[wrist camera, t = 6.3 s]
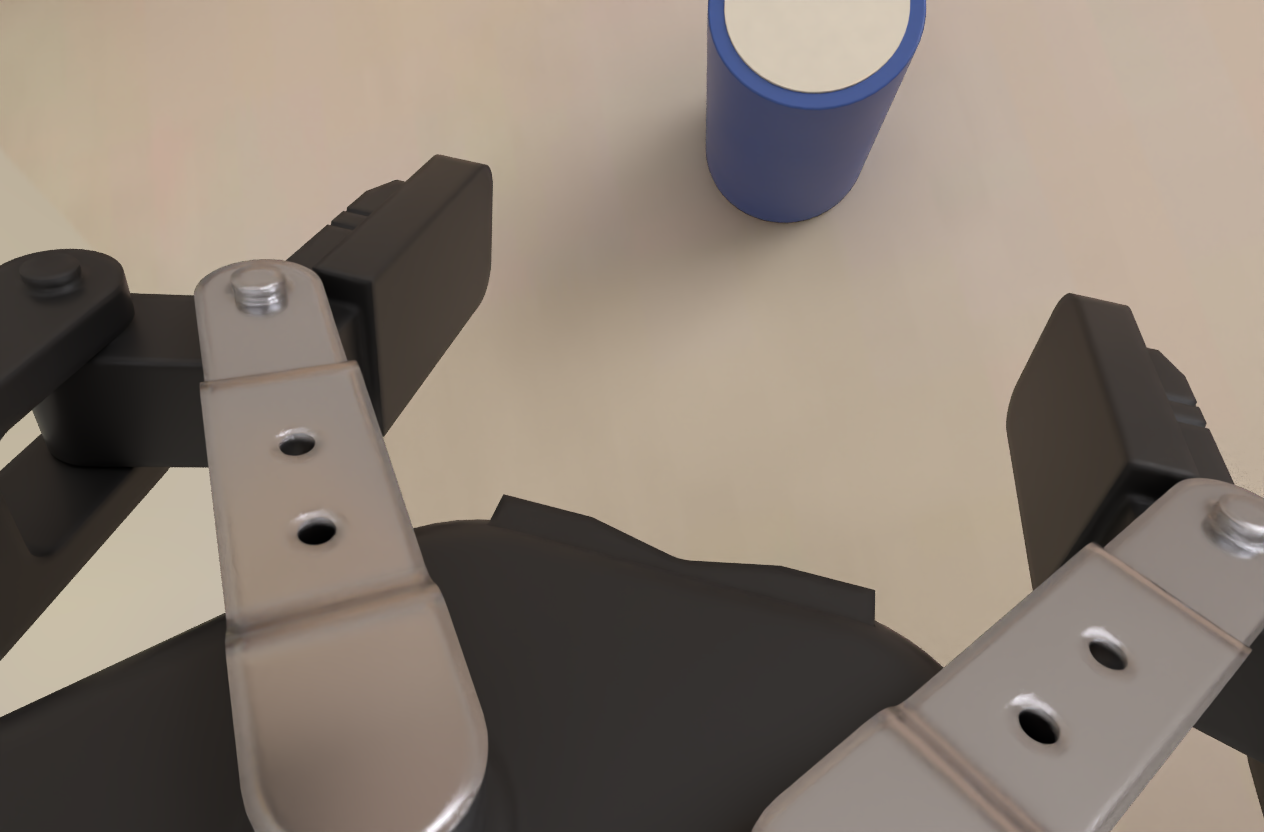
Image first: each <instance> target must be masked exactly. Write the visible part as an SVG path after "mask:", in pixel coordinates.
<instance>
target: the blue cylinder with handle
mask: <svg viewBox="0 0 1264 832" xmlns="http://www.w3.org/2000/svg"><path fill="white" fill-rule="evenodd" d="M925 18H926V0H708V25H707V100H706V157H707V163H708V167H709V171H710V173H711V176H712V178H713V180H714V182H715V184H716V186H717V187H718V189H719V190H720V191H721V193H722V194H723V195H724V196H725V197H726V198H727V200H728V201H729V202H730V203H732V204H733V205H734V206H736V207H737V208H738V209H740V210H741V211H743V212H745V213H747V214H749V215H751V216H753V217H756V218H759V219H762V220H766V221H772V222H784V223H788V222H798V221H802V220H807V219H810V218H813V217H816V216H818V215H820V214H822V213H824V212H826V211H828V210H829V209H831V208H832V207H834V206H835V205H836V204H837V203H839V202H840V201H841V200H842V199H843V198H844V197H845V196H846V195H847V193H848V192H849V191H850V190H851V188H852V187H853V185H854V184H855V182H856V180H857V178H858V176H859V174H860V172H861V169H862V167H863V165H864V163H865V161H866V158H867V156H868V154H869V152H870V150H871V147H872V145H873V143H874V141H875V139H876V136H877V134H878V132H879V130H880V128H881V125H882V123H883V121H884V119H885V117H886V115H887V112H888V110H889V108H890V106H891V104H892V101H893V99H894V97H895V95H896V93H897V90H898V88H899V86H900V84H901V82H902V79H903V77H904V75H905V73H906V71H907V68H908V66H909V64H910V62H911V60H912V58H913V55H914V53H915V51H916V49H917V47H918V44H919V42H920V39H921V36H922V33H923V30H924V24H925Z"/></svg>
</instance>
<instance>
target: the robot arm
mask: <svg viewBox="0 0 1264 832" xmlns="http://www.w3.org/2000/svg"><path fill="white" fill-rule="evenodd" d="M492 197H493V180H492V173H491V170H490V168H489V166H488V165H485V164H480V163H475V162H471V161H466V160H462V159H457V158H452V157H448V156H443V155H438V154H437V155H435V156H433V157H432V158H431V159H430V160H429V161H428V162H427V163H426V164H424V165H423V166H422V167H421V168H420V169H419V170H418V171H417V172H416V173H415V174H414V175H412V176H411V177H410V178H409V179H408V180H407V181H406V182H404V181H400V180H394V181H392V182H389V183H386V184H384V185H381V186H379V187H376V188H373V189H371V190H368V191H366V192H365V193H363V194H362V195H361V196H360V197H359V198H358V199H356V200H355V201H354V202H353V203H352V204H351V205H350V206H348V207H347V211H346V212H345V211H343V212H341V213H340V214H339V215H338V216H337V217H336V218H335V219H333V220H332V221H331V225H326V226H325V227H324V228H323V229H322V230H321V231H320V232H318V233H317V234H316V235H315V236H314V237H313V238H311V239H310V240H309V241H308V242H307V243H306V244H304V245H303V246H302V247H301V248H300V249H299V250H298V251H296V252H295V253H294V254H293V255H292V256H291V257H289V258H288V259H287V260H286V261H283V260H273V259H260V260H249V261H242V262H238V263H233V264H230V265H227V266H224V267H221V268H219V269H217V270H215V271H213V272H211V273H210V274H208V275H207V276H205V277H204V278H203V279H202V280H201V281H200V282H199V283H198V285H197V286H196V289H195V291H194V295H163V294H137V293H130V291H129V288H128V284H127V281H126V277H125V274H124V270H123V268H122V266H121V264H120V263H119V262H118V261H117V260H115V259H114V258H112V257H111V256H108V255H106V254H103V253H99V252H96V251H90V250H83V249H57V250H48V251H42V252H36V253H32V254H28V255H25V256H22V257H19V258H15V259H13V260H11V261H8V262H6V263H4V264H2V265H0V440H1V439H2V437H3V436H4V435H5V433H6V432H7V431H8V430H9V429H10V428H12V427H13V426H14V425H15V424H16V423H17V422H19V421H20V420H21V419H22V418H23V417H24V416H25V415H27V414H28V413H29V412H30V411H31V410H32V411H33V413H34V416H35V418H36V421H37V423H38V426H39V428H40V431H41V433H42V434H41V435H39V436H38V437H37V438H36V439H35V440H34V441H33V442H32V443H31V444H29V445H28V446H27V447H26V448H25V449H24V450H23V451H22V452H21V453H20V454H18V455H17V456H16V457H15V458H14V459H13V460H12V461H11V462H10V463H8V464H7V465H6V466H5V467H4V468H3V469H2V470H1V471H0V660H1V659H2V658H3V657H4V656H5V655H6V654H7V653H8V652H9V650H10V649H11V648H12V647H13V646H14V644H16V642H17V641H18V640H19V639H20V638H21V637H22V636H23V634H24V633H25V632H26V631H27V630H28V629H29V628H30V626H31V625H32V624H33V623H34V622H35V621H36V620H37V619H38V617H39V616H40V615H41V614H42V613H43V612H44V611H45V610H46V608H47V607H48V606H49V605H50V604H51V603H52V602H53V600H54V599H55V598H56V597H57V596H58V595H59V594H60V592H61V591H62V590H63V589H64V588H65V587H66V586H67V584H68V583H69V582H70V581H71V580H72V579H73V578H74V577H75V575H76V574H77V573H78V572H79V571H80V570H81V569H82V567H83V566H84V565H85V564H86V563H87V562H88V561H89V560H90V558H91V557H92V556H93V555H94V554H95V553H96V552H97V550H98V549H99V548H100V547H101V546H102V545H103V544H104V542H105V541H106V540H107V539H108V538H109V537H110V536H111V534H112V533H113V532H114V531H115V530H116V529H117V528H118V526H119V525H120V524H121V523H122V522H123V521H124V520H125V519H126V517H127V516H128V515H129V514H130V513H131V512H132V511H133V509H134V508H135V507H136V506H137V505H138V503H140V501H141V500H142V499H143V498H144V497H145V496H146V495H147V494H148V492H149V491H150V490H151V489H152V488H153V487H154V486H155V484H156V483H157V482H158V481H159V480H160V479H161V478H162V476H163V475H164V474H165V473H166V472H167V471H168V469H169V468H170V467H209V474H210V482H211V492H212V499H213V509H214V516H215V526H216V534H217V543H218V551H219V561H220V569H221V578H222V586H223V594H224V603H225V612H226V613H224V614H222V615H219V616H217V617H215V618H213V619H211V620H209V621H207V622H204V623H202V624H200V625H198V626H196V627H194V628H191V629H189V630H187V631H185V632H183V633H181V634H179V635H176V636H174V637H173V638H170V639H168V640H166V641H163V642H162V643H159V644H157V645H155V646H153V647H151V648H149V649H146V650H144V651H142V652H140V653H138V654H136V655H133V656H131V657H129V658H127V659H125V660H123V661H121V662H118V663H116V664H114V665H112V666H110V667H107V668H106V669H103V670H101V671H99V672H97V673H95V674H92V675H90V676H88V677H86V678H84V679H82V680H80V681H77V682H75V683H73V684H71V685H69V686H67V687H65V688H62V689H60V690H58V691H56V692H54V693H52V694H49V695H47V696H45V697H43V698H41V699H39V700H37V701H35V702H33V703H30V704H28V705H26V706H24V707H21V708H19V709H17V710H15V711H13V712H11V713H9V714H6V715H4V716H2V717H0V832H1110V831H1111V830H1112V829H1113V827H1114V826H1115V825H1116V824H1117V822H1118V821H1119V820H1120V818H1121V817H1122V816H1123V815H1124V813H1125V812H1126V811H1127V810H1128V808H1129V807H1130V806H1131V804H1132V803H1133V802H1134V801H1135V799H1136V798H1137V797H1138V796H1139V794H1140V793H1141V792H1142V791H1143V789H1144V788H1145V787H1146V785H1147V784H1148V783H1149V782H1150V780H1151V779H1152V778H1153V777H1154V775H1155V774H1156V773H1157V771H1158V770H1159V769H1160V768H1161V766H1162V765H1163V764H1164V763H1165V761H1166V760H1167V759H1168V757H1169V756H1170V755H1171V754H1172V752H1173V751H1174V750H1175V749H1176V747H1177V746H1178V745H1179V743H1180V742H1181V741H1182V740H1183V738H1184V737H1185V736H1186V735H1187V733H1188V732H1189V731H1190V729H1191V728H1192V727H1194V728H1196V729H1198V730H1199V731H1201V732H1203V733H1205V734H1207V735H1209V736H1211V737H1213V738H1215V739H1217V740H1219V741H1221V742H1222V743H1224V744H1226V745H1228V746H1230V747H1232V748H1234V749H1236V750H1238V751H1240V752H1242V753H1243V754H1245V755H1247V757H1248V763H1249V767H1250V770H1251V774H1252V777H1253V781H1254V784H1255V788H1256V792H1257V795H1258V799H1259V802H1260V806H1261V809H1262V813H1263V816H1264V498H1262V497H1260V496H1259V495H1257V494H1255V493H1253V492H1251V491H1248V490H1246V489H1244V488H1242V487H1239V486H1236V485H1234V482H1233V480H1232V478H1231V476H1230V474H1229V471H1228V469H1227V467H1226V465H1225V463H1224V460H1223V458H1222V456H1221V454H1220V452H1219V450H1218V447H1217V445H1216V443H1215V441H1214V439H1213V436H1212V434H1211V432H1210V430H1209V429H1208V428H1205V425H1206V421H1205V419H1204V417H1203V415H1202V412H1201V410H1200V408H1199V407H1196V403H1197V401H1196V399H1195V397H1194V395H1193V393H1192V390H1191V388H1190V386H1189V384H1188V382H1187V380H1186V377H1185V376H1184V375H1183V374H1182V373H1181V372H1180V371H1179V370H1178V369H1177V368H1176V367H1175V366H1174V365H1173V364H1172V363H1171V362H1170V361H1169V360H1168V359H1167V358H1166V357H1165V356H1164V355H1163V354H1162V353H1161V352H1160V351H1159V350H1155V349H1150V348H1147V347H1146V345H1145V343H1144V340H1143V338H1142V335H1141V333H1140V331H1139V328H1138V326H1137V323H1136V321H1135V319H1134V316H1133V314H1132V311H1131V309H1130V308H1129V307H1128V306H1126V305H1122V304H1118V303H1113V302H1108V301H1104V300H1099V299H1095V298H1090V297H1085V296H1081V295H1076V294H1072V293H1068V294H1066V295H1064V296H1063V297H1062V298H1061V300H1060V301H1059V302H1058V304H1057V305H1056V307H1055V309H1054V310H1053V312H1052V314H1051V316H1050V318H1049V320H1048V322H1047V324H1046V326H1045V328H1044V330H1043V332H1042V334H1041V336H1040V338H1039V340H1038V342H1037V344H1036V346H1035V348H1034V350H1033V352H1032V354H1031V356H1030V358H1029V360H1028V362H1027V364H1026V366H1025V368H1024V370H1023V372H1022V374H1021V376H1020V378H1019V380H1018V382H1017V384H1016V386H1015V388H1014V391H1013V393H1012V396H1011V399H1010V403H1009V407H1008V412H1007V420H1006V430H1007V437H1008V443H1009V449H1010V455H1011V461H1012V467H1013V473H1014V479H1015V485H1016V491H1017V497H1018V504H1019V510H1020V516H1021V522H1022V528H1023V534H1024V540H1025V546H1026V552H1027V558H1028V564H1029V570H1030V576H1031V583H1032V589H1033V592H1031V593H1030V594H1029V595H1028V596H1027V597H1026V598H1024V599H1023V600H1022V601H1021V602H1020V603H1019V604H1017V605H1016V606H1015V607H1014V608H1013V609H1012V610H1010V611H1009V612H1008V613H1007V614H1006V615H1005V616H1003V617H1002V618H1001V619H1000V620H999V621H998V622H997V623H995V624H994V625H993V626H992V627H991V628H990V629H988V630H987V631H986V632H985V633H984V634H983V635H981V636H980V637H979V638H978V639H977V640H976V641H974V642H973V643H972V644H971V645H970V646H969V647H967V648H966V649H965V650H964V651H963V652H962V653H960V654H959V655H958V656H957V657H956V658H955V659H953V660H952V661H951V662H950V663H949V664H948V665H946V666H945V667H944V668H943V667H942V666H941V665H940V664H939V663H938V662H936V661H935V660H934V659H933V658H932V657H931V656H930V655H928V654H927V653H926V652H925V651H923V650H922V649H921V648H919V647H918V646H916V645H915V644H914V643H912V642H911V641H910V640H908V639H907V638H905V637H903V636H902V635H900V634H898V633H897V632H895V631H893V630H892V629H890V628H888V627H887V626H885V625H883V624H881V623H879V622H877V621H875V590H872V589H868V588H864V587H861V586H857V585H853V584H849V583H845V582H841V581H837V580H833V579H830V578H826V577H822V576H818V575H814V574H810V573H806V572H802V571H799V570H795V569H791V568H787V567H783V566H774V565H757V564H739V563H722V562H705V561H689V560H683V559H679V558H676V557H673V556H671V555H669V554H667V553H665V552H663V551H661V550H658V549H656V548H654V547H652V546H650V545H648V544H646V543H644V542H642V541H640V540H638V539H636V538H634V537H632V536H630V535H628V534H625V533H623V532H621V531H619V530H617V529H615V528H613V527H611V526H609V525H607V524H605V523H603V522H601V521H599V520H597V519H595V518H593V517H589V516H585V515H582V514H578V513H574V512H570V511H566V510H562V509H558V508H555V507H551V506H547V505H543V504H539V503H535V502H531V501H527V500H524V499H520V498H516V497H512V496H508V495H504V494H503V496H502V498H501V500H500V502H499V504H498V506H497V508H496V510H495V512H494V514H493V516H492V518H491V520H478V519H477V520H456V521H448V522H441V523H434V524H430V525H426V526H422V527H417V528H413V527H412V524H411V521H410V518H409V515H408V512H407V509H406V506H405V503H404V500H403V497H402V494H401V491H400V488H399V485H398V482H397V479H396V476H395V473H394V470H393V467H392V463H391V460H390V457H389V454H388V451H387V448H386V445H385V442H384V439H383V437H384V436H385V434H386V433H387V432H388V430H389V429H390V428H391V426H392V425H393V423H394V422H395V421H396V419H397V418H398V416H399V415H400V414H401V412H402V411H403V410H404V408H405V407H406V405H407V404H408V403H409V401H410V400H411V399H412V397H413V396H414V394H415V393H416V392H417V390H418V389H419V388H420V386H421V385H422V383H423V382H424V381H425V379H426V378H427V377H428V375H429V374H430V372H431V371H432V370H433V368H434V367H435V365H436V364H437V363H438V361H439V360H440V359H441V357H442V356H443V354H444V353H445V352H446V350H447V349H448V348H449V346H450V345H451V343H452V342H453V341H454V339H455V338H456V337H457V335H458V334H459V332H460V331H461V330H462V328H463V327H464V325H465V324H466V323H467V321H468V320H469V319H470V317H471V316H472V314H473V313H474V312H475V310H476V309H477V308H478V306H479V305H480V303H481V301H482V299H483V297H484V295H485V292H486V289H487V285H488V281H489V277H490V270H491V246H492Z"/></svg>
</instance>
